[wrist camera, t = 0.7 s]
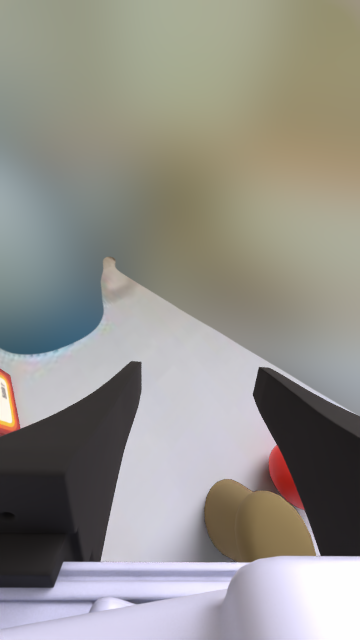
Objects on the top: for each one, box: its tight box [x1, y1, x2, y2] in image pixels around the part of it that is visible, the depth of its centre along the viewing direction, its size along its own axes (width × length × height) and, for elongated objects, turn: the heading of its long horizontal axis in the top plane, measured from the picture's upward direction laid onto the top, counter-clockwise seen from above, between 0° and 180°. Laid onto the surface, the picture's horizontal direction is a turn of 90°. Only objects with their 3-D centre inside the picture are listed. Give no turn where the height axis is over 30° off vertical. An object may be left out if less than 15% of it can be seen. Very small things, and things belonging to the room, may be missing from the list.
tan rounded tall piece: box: [204, 479, 316, 563], centre depth 16 cm, size 6×6×11 cm
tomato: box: [269, 445, 305, 510], centre depth 21 cm, size 6×6×7 cm
